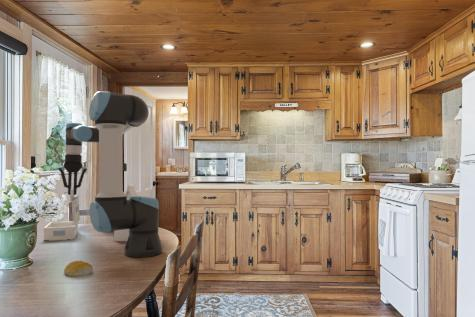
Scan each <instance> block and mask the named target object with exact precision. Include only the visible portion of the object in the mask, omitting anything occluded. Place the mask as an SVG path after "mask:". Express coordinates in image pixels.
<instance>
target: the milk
mask: <svg viewBox="0 0 475 317" xmlns="http://www.w3.org/2000/svg"><path fill="white" fill-rule="evenodd" d="M135 187H136V186H135V184H129V185H127V187H126V191H123V192H124V193H125V194H126V195H127V200H130V199H129V198H130V196H141V194H140V193H138V192H137V191H136V190H135ZM128 236H129V229H124V230H115V231H113V242H127V239H128Z"/></svg>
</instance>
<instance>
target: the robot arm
mask: <svg viewBox="0 0 475 317" xmlns="http://www.w3.org/2000/svg"><path fill="white" fill-rule="evenodd" d="M149 112H150V111H149V107H148V105H147V103H146V102H145V101H144V99H143V98H141V97H139V96H137V95H134V94H133V95H132V94H125V93H120V92H119V93H118V92H115V91H114V92H113V91H109V90H108V91H101V90H100V91H96V92H95V93H94V95H93V96H92V98H91V100H90V104H89V110H88V116H89V120H90V121H93V122H94V126H89V125H88V126H87V125H84V124H82V123H80V122H79V123H78V122H67V123H66V126H65V146H64V148H65V149H64V150H65V151H64V153H65V155H64V163H63V166H61V167H59V168H58V170H59V172H60V175H61V179H62V184H63V187H64V188H67V196H69V197H70V198H69V202H70V203H72V198H73V197H74V196H75V195H78V194H77V191H78V190H77V189H79V188H80V187H81V186H82V183H83V180H84V175H85V173H86V172H87V170H88V169H87V168H86V167H84V166H83V164H82V161H83V160H82V159H83V158H82V153H83V142H84V143H98V163H99V164H98V171H99V172H98V174H99V175H98V180H99V181H98V188H99V189H98V190H99V191H98V193H97V194H96V195H95V196H94V200H93V201H91V202H90V204H89V210H88V213H89V214H88V215H89V218H90V222H91V224H92V225H91V226H92V227H93V229H94V230H95V231H96V232H99V233H100V232H101V233H102V232H105V233H106V232H108V233H110V232H114V231H115V230H124V229H129V236H128V239H127V241H125V242H126V243H125V246H124V248H123V249H124V251H123V254H124V256H126V257H127V256H128V257H131V258H147V257H149V258H150V257H154V256H155V257H156V256H159V255H161V254H163V245H162V241H161V238H160V236H159V220H160V219H159V218H160V216H159V211H160V208H159V207H160V205H159V204H160V203H159V200H158V199H157V198H155V197H152V196H151V197H149V196H142V195H140V196H130V198H129V199H130V200H127V195H126V194H125V193H124V192H125V191H124V190H123V186H124V185H123V135H124V134H125V133H127V132H128V131H130V130H131V129H133V128H138V127H141V126H142V125H143V124H145V123H146V121H147V120H148V117H149V114H150V113H149ZM65 170H66V172H67V174H68V177H67V178H68V179H67V178H66V174H65ZM80 170H81V173H80V177H79V181H78V173H79V171H80ZM72 175H73V176H72ZM72 177H73V178H72ZM72 179H73V188H72Z"/></svg>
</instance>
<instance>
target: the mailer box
mask: <svg viewBox="0 0 475 317" xmlns="http://www.w3.org/2000/svg"><path fill="white" fill-rule="evenodd" d="M78 234H79V222H78V223H77V224H76V225H73V220H72V221H71V220H69V221H50V222H49V223H48V224H46V226H44V227H43V241H44V240H49V241H64V240H65V241H66V240H67V239H70V240H75V239H76V237H77V235H78Z"/></svg>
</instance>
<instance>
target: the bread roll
mask: <svg viewBox="0 0 475 317" xmlns="http://www.w3.org/2000/svg"><path fill="white" fill-rule="evenodd" d="M63 270H64V271H63V273H64V274H65V275H66V276H69V277H74V278H75V277H82V276H87V275H90V274H91V273H92V271H93V265H92V264H90V263H89V262H88V261H83V260H74V261H71V262H69V263H68V264H67V265H65V267H64V269H63Z"/></svg>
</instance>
